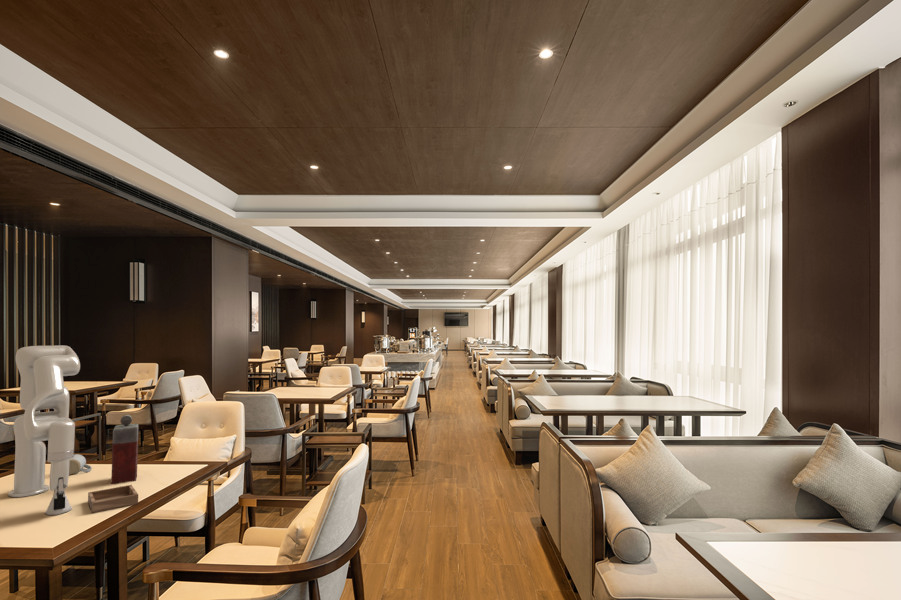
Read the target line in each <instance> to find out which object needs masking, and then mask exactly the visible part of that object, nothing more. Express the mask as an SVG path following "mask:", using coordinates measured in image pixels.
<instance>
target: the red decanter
mask: <svg viewBox="0 0 901 600" xmlns="http://www.w3.org/2000/svg"><path fill="white" fill-rule="evenodd" d="M132 421H133V417H132V416H131V415H129V414H126V415H123V416H122V417H121V419H120V424H119V425H118V424H117V425H115V426H114V428H113V430H112V446H111V447H112V449H111V451H112V454H111V480H110V481H111V483H110V485H116V484H122V483H129V482H136V481H137V477H138V459H139V457H138V456H139V455H138V453H139V424H138V423H132Z"/></svg>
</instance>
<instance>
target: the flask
mask: <svg viewBox="0 0 901 600" xmlns="http://www.w3.org/2000/svg"><path fill="white" fill-rule="evenodd" d="M63 488H64V487H63ZM57 489H58V488H57ZM57 492H58V491H57ZM53 494H54V495H53ZM53 494H52V497H51V500H50V502H49V504H48V507H47V509H46V510H45V513H44V514H46V515H48V516H53V515H55V516H57V515H60V514H61V515H62V514H65V513H67V512H69V511H71V510H73V508H72V506H71V504H70V502H69V499H68V497H67V495H66V493H65V508H64V509H58V510H54V498H55V491H54V490H53Z"/></svg>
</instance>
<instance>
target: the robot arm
mask: <svg viewBox="0 0 901 600" xmlns="http://www.w3.org/2000/svg"><path fill="white" fill-rule="evenodd" d="M15 364H16V367H17V369H18V372H19V375H20V388H19V390H20V391H19V406H20V409H22V410H24V413H23V414H22V415H20V416H19V417H17V418H16V419H14V421H13V432H14V441H15V452H14V457H15V458H14V473H13V474H14V475H13V477H14V478H13V489H12V490H10V491H8V493H7V494H8V496H9V497H10V498H23V497H29V496H35V495H38V494H43V493H44V492H47V491H51V492H54V491H55V498H54V510H58V509H64V508H65V494H66V489H67V488H68V486H69V476H70V475H69V463H70V460H72V459H73V458H74V455H75V439H76V438H75V436H76V435H75V433H76V431H75V430H76V424H75V423H76V422H74V421H73V420H72V419H71V418H69V416H70V415H69V414H70V391H69V389H68V387H67V386H65V382H64V377H68V376H75V375H78V374H79V372H80V370H81V362H80V359H79V356H78V355H77V353H76V352H75V351H74V350H73V348H71V346H68V345H30V346H24V347H20V348H19V349H18V350H17V351H16V354H15ZM49 409H53V411H52V410H51V411H44V412H42V410H49ZM38 410H39V411H40V410H41V412H36V411H38ZM44 441H48V442H47V443H48V444H47V447H46V444H45V442H44ZM46 455H47V459H46ZM46 460H47V463H50V467H49V469H50V470H49V485H48V484H45V481H46V480H45V479H46ZM63 487H64V488H63ZM57 488H58V489H57ZM57 491H58V492H57ZM53 495H54V493H53V494H52V496H53Z"/></svg>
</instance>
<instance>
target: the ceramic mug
mask: <svg viewBox="0 0 901 600" xmlns="http://www.w3.org/2000/svg"><path fill="white" fill-rule="evenodd" d="M92 469H93V467H92V466H91V465H89V464H87V459H86V457H85V456H83V455H82V454H78V453H77V454H75V453H74V458H73V459H72V460H70V463H69V476H70V475H72V476H73V475H75V474H77V473H79V472H84V473H89V472H91V470H92Z"/></svg>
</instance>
